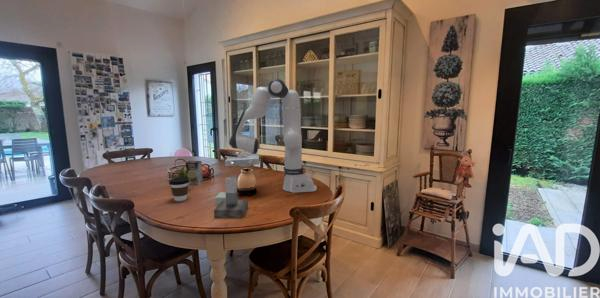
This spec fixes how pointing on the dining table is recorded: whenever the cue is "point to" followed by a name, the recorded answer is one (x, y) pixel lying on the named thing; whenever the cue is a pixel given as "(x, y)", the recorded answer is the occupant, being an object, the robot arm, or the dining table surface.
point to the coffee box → (194, 172)
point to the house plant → (183, 174)
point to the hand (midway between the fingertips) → (240, 163)
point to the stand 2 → (231, 210)
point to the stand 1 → (220, 198)
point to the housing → (231, 191)
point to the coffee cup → (179, 188)
